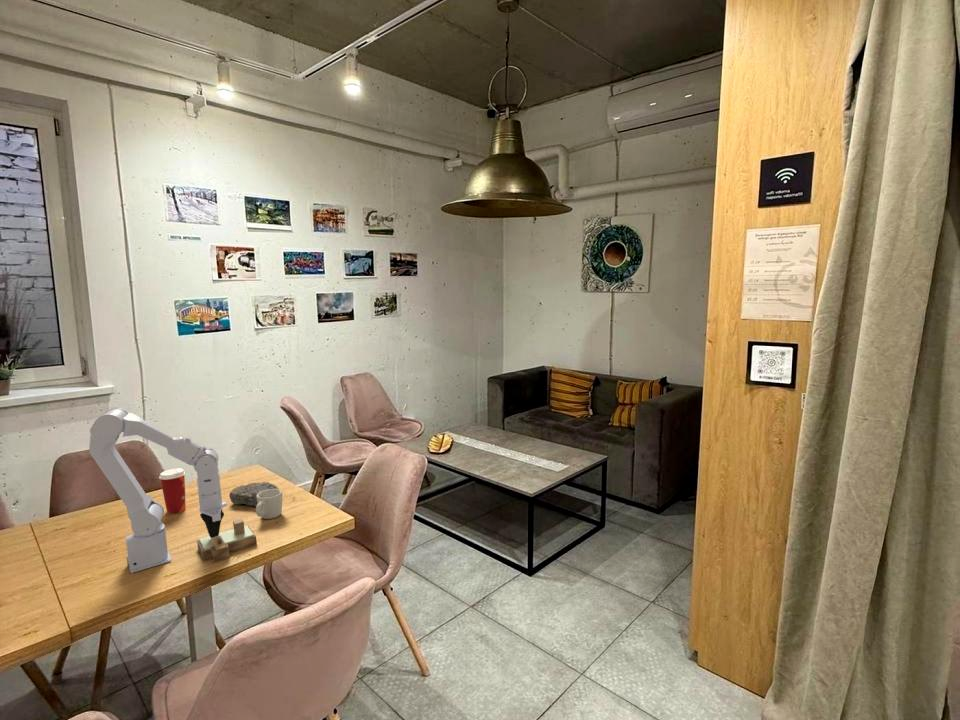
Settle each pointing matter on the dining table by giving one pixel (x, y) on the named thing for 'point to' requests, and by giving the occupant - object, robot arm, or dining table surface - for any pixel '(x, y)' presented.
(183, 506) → the paper cup
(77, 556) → the dining table surface
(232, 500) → the rock
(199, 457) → the robot arm
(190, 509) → the dining table surface
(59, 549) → the dining table surface
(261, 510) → the cup
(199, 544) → the wooden tray
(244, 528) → the lid
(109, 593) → the dining table surface
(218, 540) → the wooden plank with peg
